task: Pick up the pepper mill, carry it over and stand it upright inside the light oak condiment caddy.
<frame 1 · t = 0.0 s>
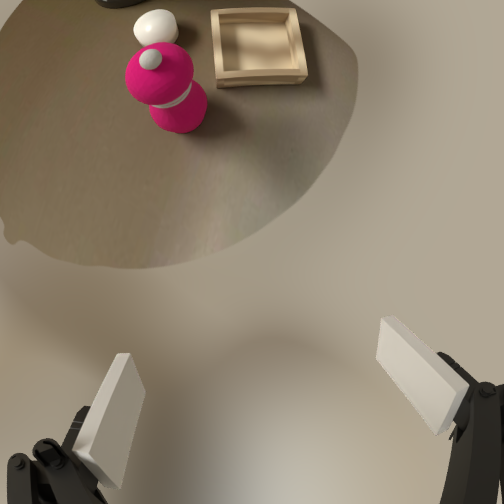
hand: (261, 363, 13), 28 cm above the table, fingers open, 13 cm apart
pepper mill: (183, 112, 35), on the table
caddy: (255, 50, 33), on the table
white egg-shaped pebble: (159, 36, 31), on the table
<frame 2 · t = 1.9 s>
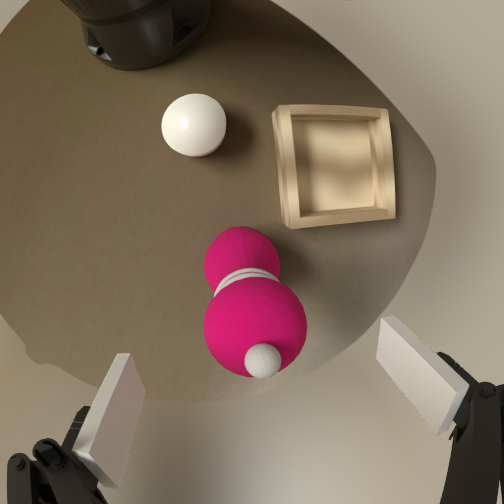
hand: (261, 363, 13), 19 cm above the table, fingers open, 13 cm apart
pepper mill: (239, 253, 32), on the table
caddy: (329, 164, 30), on the table
white egg-shaped pebble: (197, 129, 27), on the table
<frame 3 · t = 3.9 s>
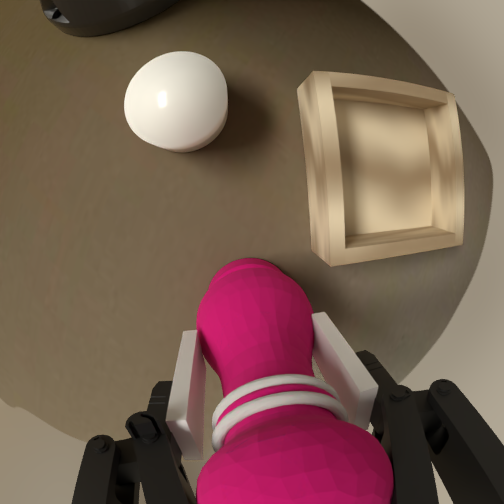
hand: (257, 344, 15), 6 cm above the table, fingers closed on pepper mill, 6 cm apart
pepper mill: (248, 296, 21), on the table, touching gripper
caddy: (378, 166, 20), on the table
white egg-shaped pebble: (184, 111, 17), on the table
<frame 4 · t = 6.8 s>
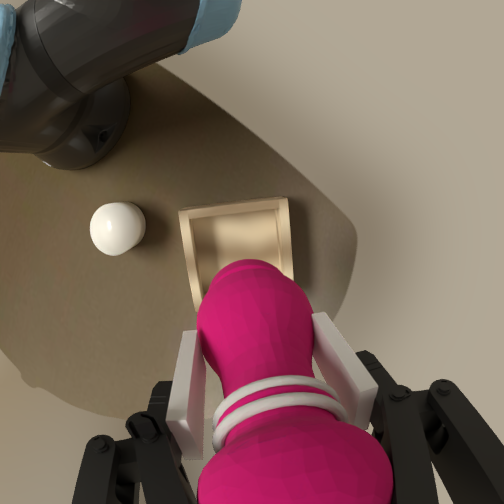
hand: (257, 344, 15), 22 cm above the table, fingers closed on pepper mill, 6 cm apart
pepper mill: (248, 296, 21), point 15 cm above the table, touching gripper
caddy: (237, 249, 36), on the table
white egg-shaped pebble: (124, 225, 33), on the table
when the fingers open (9 cm above the table, at t = 9.7 s): pepper mill drops 2 cm, resting on caddy.
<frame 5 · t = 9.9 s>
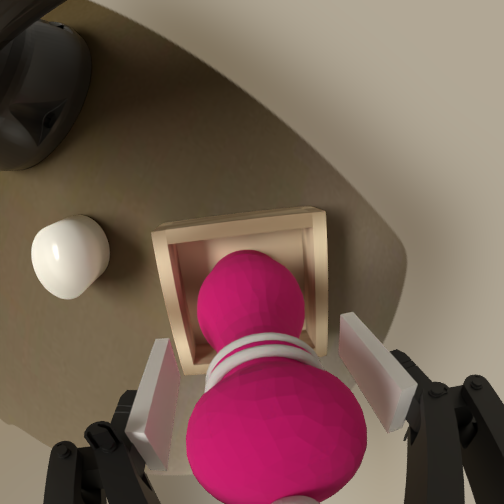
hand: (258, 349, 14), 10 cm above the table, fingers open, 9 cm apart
pepper mill: (246, 285, 23), point 1 cm above the table, touching caddy
caddy: (244, 283, 24), on the table
white egg-shaped pebble: (81, 248, 22), on the table, tilted 5°
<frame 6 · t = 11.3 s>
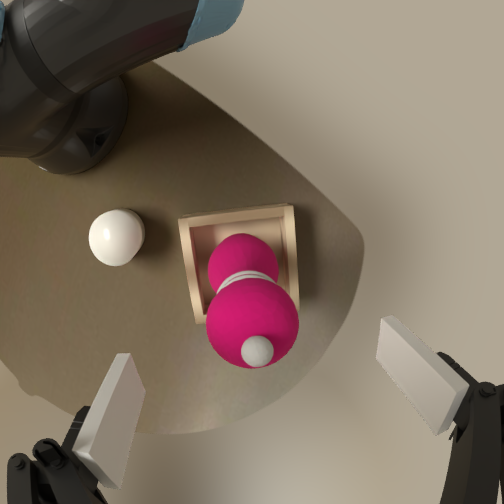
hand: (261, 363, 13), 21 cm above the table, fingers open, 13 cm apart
pepper mill: (241, 258, 34), point 1 cm above the table, touching caddy
caddy: (240, 258, 34), on the table
white egg-shaped pebble: (121, 232, 32), on the table, tilted 6°
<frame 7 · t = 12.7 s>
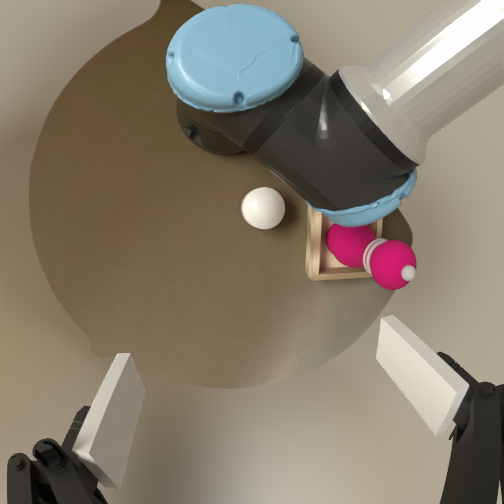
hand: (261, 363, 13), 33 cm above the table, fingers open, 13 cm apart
pepper mill: (341, 238, 46), point 1 cm above the table, touching caddy
caddy: (339, 237, 47), on the table
white egg-shaped pebble: (259, 208, 44), on the table, tilted 7°
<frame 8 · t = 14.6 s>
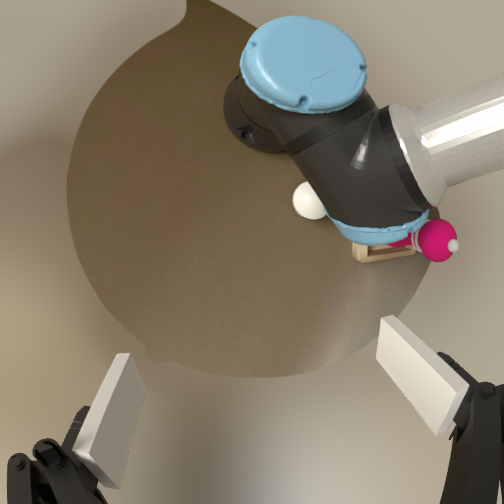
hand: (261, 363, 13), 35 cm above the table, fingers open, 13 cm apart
pepper mill: (382, 222, 48), point 1 cm above the table, touching caddy
caddy: (380, 221, 49), on the table
white egg-shaped pebble: (308, 200, 46), on the table, tilted 8°
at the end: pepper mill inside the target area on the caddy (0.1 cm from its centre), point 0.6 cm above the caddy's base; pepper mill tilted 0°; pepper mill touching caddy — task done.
